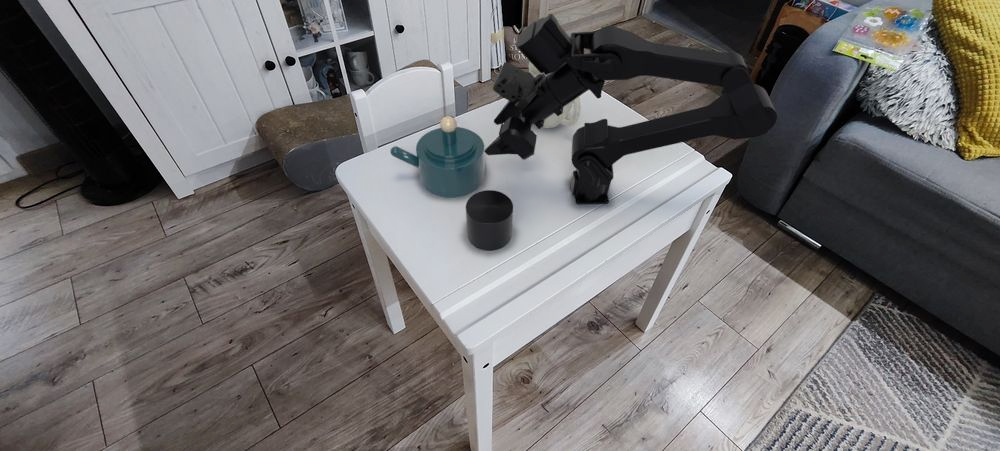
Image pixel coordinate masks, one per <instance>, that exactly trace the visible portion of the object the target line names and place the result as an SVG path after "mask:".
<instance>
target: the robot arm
mask: <svg viewBox="0 0 1000 451" xmlns="http://www.w3.org/2000/svg"><path fill="white" fill-rule="evenodd" d="M515 47H516V48H517V49H518V50H519V51H520V52H521V53H522V54H523V56H524V57H525V58H526V59H527V60H528V61H529V62H531V63H532V64H533V65H534V66H535V68H536V69H537V70H538V71H539V72H540V73H544V74H545V75H547V74H548V75H547V76H545V75H544V74H542V75H541V74H539V75H537V76H536V77H534V76H533V75H532V74H531V73H529V71H525V70H523V69H521V68H519V67H517V66H516V65H514V64H512V63H510V62H506V61H504V62H503V64H502V66H501V68H500V70H499V72H498V73H497V75H496V77H495V80H494V83H493V86H492V90H493V92H495V93H496V94H497V95H499V97H501V98H503V99H505V100H507V102H506V103H505V105H504V106H503V107H502V108H501V110H500V112H499V113H498V114H497V115H496V116H495V118H494V119H493V123H494V124H495V125H497V126H499V125H500V128H499V132H498V136H497V137H496V138H495V139H494V140H493V141H492V142H491V143H490V144H489V145H488V146H487V147H486V148H484V154H486V155H487V156H501V155H517V156H518V157H519V158H520V159H521V160H525V161H526V160H527V159H529V158H531V157H532V156H534V155H535V150H536V146H537V140H538V139H537V138H538V135H537V134H536V133H535V132H534V131H533V130H532V127H533V125H534V126H535V127H536V128H537V129H538V130H540V129H541V128H543V125H544V120H545V119H547V118H548V117H550V116H551V115H553V114H554V113H555V114H556V115H557V116H559V115H561V114H562V113H563V107H564V106H566V105H567V104H569V103H570V102H572V101H573V100H575V99H576V98H578V97H579V98H580V97H581V96H582V95H584V94H585V93H587V92H588V91H590V92H591V93H592V94H593V95H594V97H595V98H596V99H601V98H602V91H603V87H604V85H605V83H606V81H628V80H631V79H634V78H639V77H652V78H660V79H668V80H673V81H680V82H687V83H693V84H695V83H696V84H700V85H701V84H702V85H709V86H715V87H721V88H723V90H724V91H725V92H724V93H722V94H721V95H720V96H719V97H718V98H716V99H714V100H713V101H712V102H710V103H709V104H707V105H705V106H702V107H698V108H697V107H696V108H693V109H689V110H685V111H681V112H677V113H673V114H669V115H665V116H661V117H657V118H653V119H649V120H645V121H642V122H637V123H633V124H628V125H625V126H624V125H623V126H613V125H609V122H608V119H607V118H602V119H599V120H597V121H594V122H584V124H583V126H581V127H579V128H578V129H576V130H575V132H574V134H573V135H572V139H571V164H572V166H573V167H574V168H575V170H573V171H572V175H571V179H570V185H569V187H570V192H571V195H572V196H573V198H574V203H575V204H576V205H608V204H609V203H610V198H609V195H608V194H609V190H610V187H611V183H612V181H613V179H614V164H615V163H616V162H618V161H619V160H621V159H622V158H623V157H625V156H627V155H633V154H636V153H641V152H646V151H651V150H654V149H659V148H664V147H667V146H672V145H677V144H680V143H681V144H682V143H686V142H689V141H694V140H699V139H704V138H708V137H718V138H719V137H720V138H724V139H729V140H734V141H735V140H743V139H744V140H747V139H755V138H759V137H762V136H765V135H766V134H768V133H769V131H770V130H771V129H772V128H774V125H776V123H777V120H778V115H777V114H778V113H777V111H776V109H775V107H774V105H773V102H772V101H771V99H770V96H769V94H768V92H767V90H766V89H765V88H764V87H762V86H761V85H758V84H757V83H754V82H753V80H752V78H751V76H750V74H749V73H750V72H749V69H748V66H747V64H746V61H745V60H744V57H743V56H742V55H741V54H740V53H737V52H735V51H728V52H721V51H714V50H707V49H701V48H695V47H694V48H693V47H687V46H686V47H685V46H679V45H674V44H673V45H672V44H664V43H658V42H652V41H650V40H647V39H645V38H643V37H641V36H640V35H638V34H636V33H635V32H633V31H630V30H626V29H623V28H620V27H618V26H614V25H605V26H602V27H600V29H598V30H594V31H579V32H571V33H570V35H569V34H568V33H567V32H566V31H565V29H564V28H563V27H562V26H561V25H560V23H559V20H558V19H557V18H556V17H555V15H554V14H553V13H549V14H548V15H547V16H545V17H541V18H539V19H537V20H533V21H532V22H531V23H530V24H529V25H528V26H526V28H525V29H524V30H523V31H522V32H521V33H520V35H519V37H517V40H516V42H515ZM585 49H586V50H588V53H585ZM549 73H550V74H549Z"/></svg>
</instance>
